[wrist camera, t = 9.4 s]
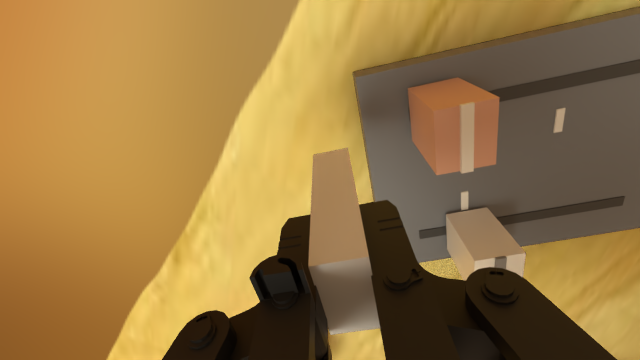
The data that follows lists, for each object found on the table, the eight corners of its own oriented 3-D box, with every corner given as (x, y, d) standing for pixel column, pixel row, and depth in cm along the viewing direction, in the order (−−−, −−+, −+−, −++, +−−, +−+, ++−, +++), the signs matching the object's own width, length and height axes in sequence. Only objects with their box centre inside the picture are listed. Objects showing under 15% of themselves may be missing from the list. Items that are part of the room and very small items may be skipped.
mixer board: (619, 213, 26) (642, 228, 24) (382, 251, 28) (386, 268, 26) (681, -3, 19) (720, -5, 17) (352, 72, 21) (355, 77, 19)
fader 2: (485, 243, 25) (522, 296, 20) (447, 249, 25) (475, 302, 21) (487, 206, 23) (527, 254, 19) (446, 213, 23) (476, 262, 19)
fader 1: (458, 132, 20) (497, 166, 16) (412, 141, 21) (437, 178, 16) (457, 76, 19) (501, 97, 14) (407, 87, 19) (434, 111, 14)
